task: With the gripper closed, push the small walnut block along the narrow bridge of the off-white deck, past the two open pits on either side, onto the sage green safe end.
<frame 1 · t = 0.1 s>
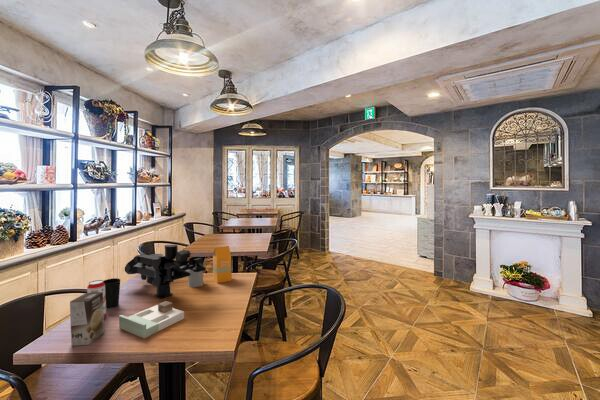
hand: (198, 271, 135), 16 cm above the table, tool horizontal, fingers open, 9 cm apart
orange juice: (222, 280, 171), on the table
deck: (152, 322, 119), on the table
cup: (111, 306, 135), on the table
block: (165, 310, 124), point 3 cm above the table, touching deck
coffee box: (88, 339, 107), on the table
beer can: (97, 319, 123), on the table
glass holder: (195, 283, 166), on the table
milk frother: (158, 281, 169), on the table, touching arm
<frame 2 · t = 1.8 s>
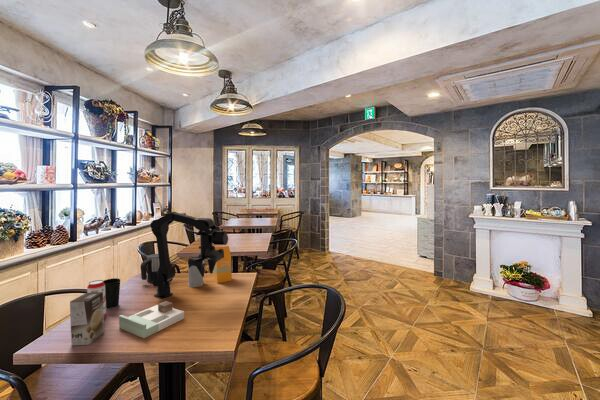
hand: (207, 275, 143), 12 cm above the table, tool pointing down, fingers open, 5 cm apart
milk frother: (158, 281, 169), on the table
everything else where it was.
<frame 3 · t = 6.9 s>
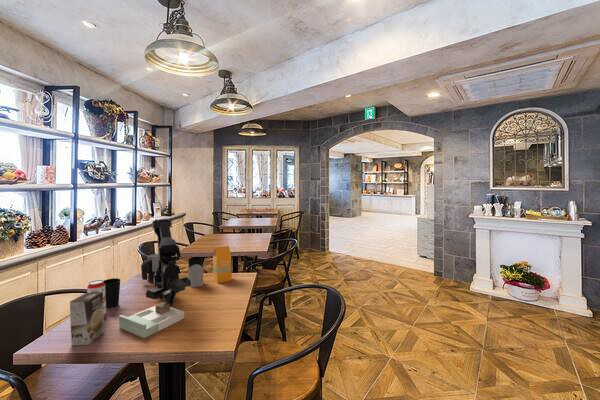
hand: (170, 306, 126), 4 cm above the table, tool pointing down, fingers closed
block: (162, 311, 123), point 3 cm above the table, touching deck, gripper
everything else where it was.
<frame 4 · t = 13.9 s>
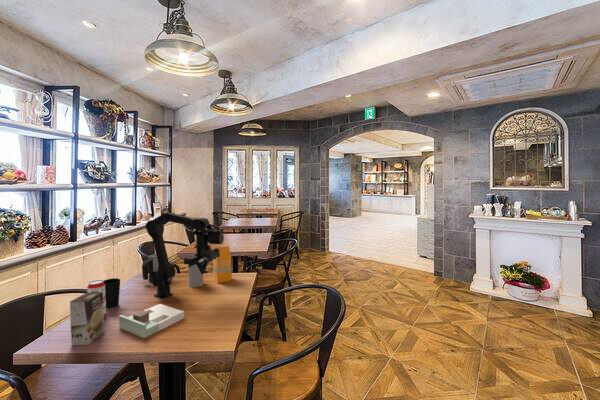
hand: (202, 274, 145), 12 cm above the table, tool pointing down, fingers closed
block: (141, 320, 115), point 3 cm above the table, touching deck
everything else where it was.
at the end: block 0.2 cm from the target spot on the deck, point 3.0 cm above the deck's base; block tilted 0°; block touching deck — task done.
